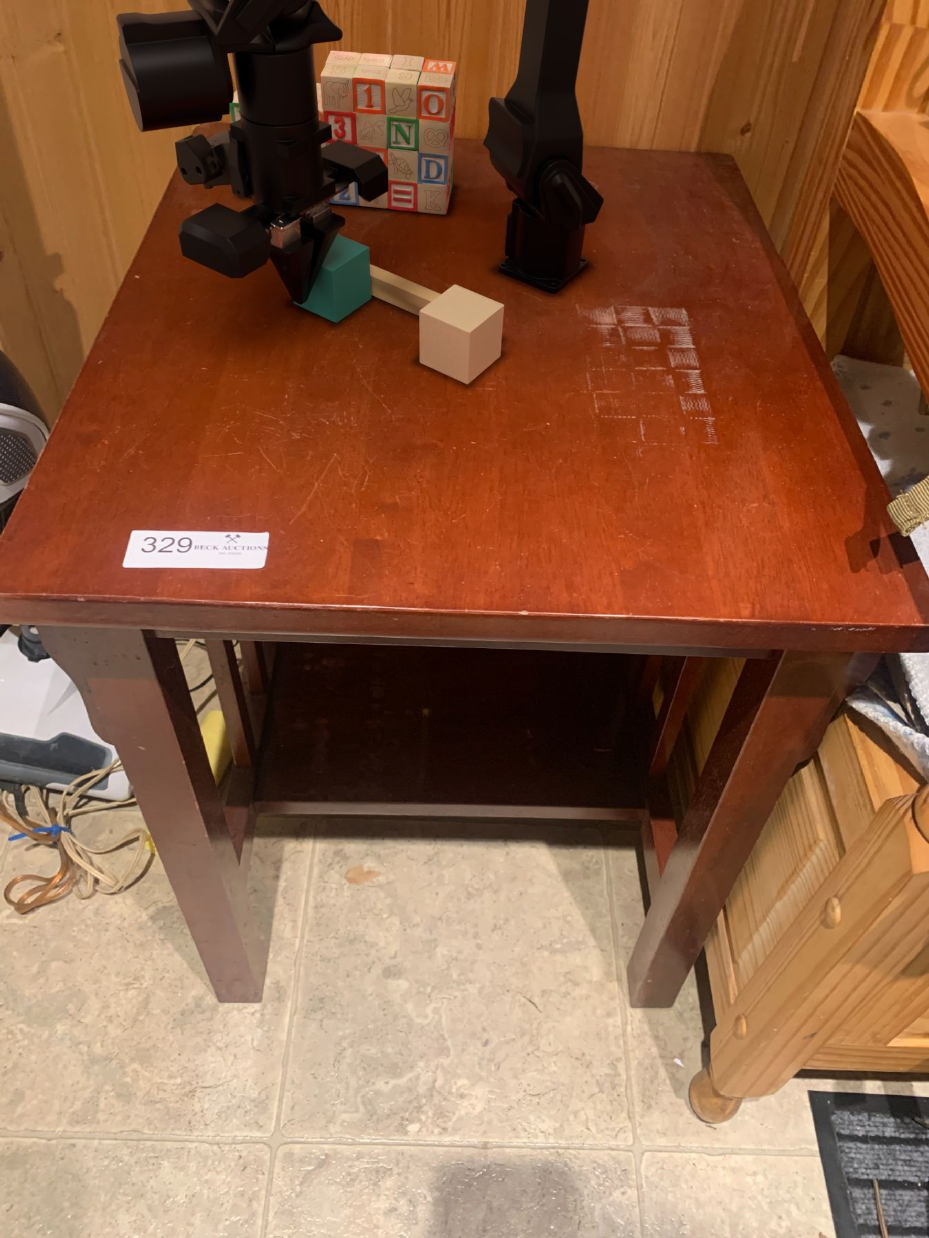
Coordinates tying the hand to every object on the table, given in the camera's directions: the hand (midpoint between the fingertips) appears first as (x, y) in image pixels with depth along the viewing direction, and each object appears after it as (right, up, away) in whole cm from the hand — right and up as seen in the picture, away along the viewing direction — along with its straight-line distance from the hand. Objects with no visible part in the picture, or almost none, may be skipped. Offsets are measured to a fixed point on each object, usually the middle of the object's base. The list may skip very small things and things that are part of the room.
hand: (299, 301), depth 79 cm
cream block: (+14, -5, -1) cm, 15 cm away
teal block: (+2, +1, +4) cm, 5 cm away
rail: (+9, +1, +4) cm, 10 cm away
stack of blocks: (+2, +17, +17) cm, 24 cm away
